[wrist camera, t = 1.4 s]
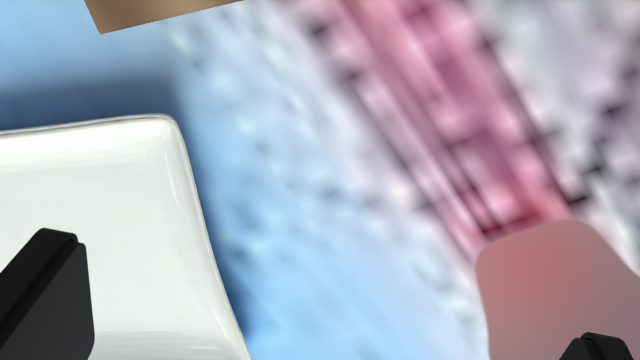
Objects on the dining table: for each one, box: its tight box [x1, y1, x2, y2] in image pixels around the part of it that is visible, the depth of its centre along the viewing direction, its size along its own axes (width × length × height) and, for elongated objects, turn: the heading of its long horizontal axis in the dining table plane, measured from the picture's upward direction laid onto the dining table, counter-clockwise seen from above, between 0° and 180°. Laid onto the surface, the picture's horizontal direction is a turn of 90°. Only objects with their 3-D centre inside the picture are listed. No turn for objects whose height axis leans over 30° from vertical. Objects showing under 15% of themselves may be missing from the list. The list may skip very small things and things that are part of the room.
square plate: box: [0, 113, 252, 360], centre depth 43 cm, size 27×27×4 cm
